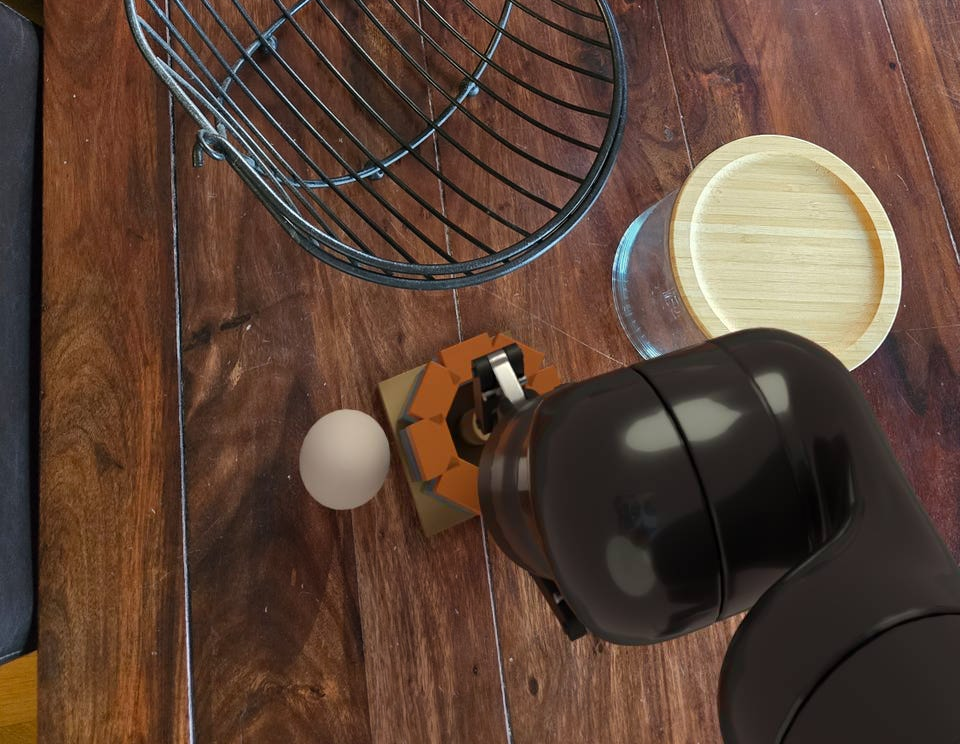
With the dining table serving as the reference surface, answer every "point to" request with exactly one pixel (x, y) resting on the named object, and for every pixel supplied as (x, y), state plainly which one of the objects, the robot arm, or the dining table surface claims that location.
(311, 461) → the egg
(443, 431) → the orange ring
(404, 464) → the ring stack
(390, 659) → the dining table surface
